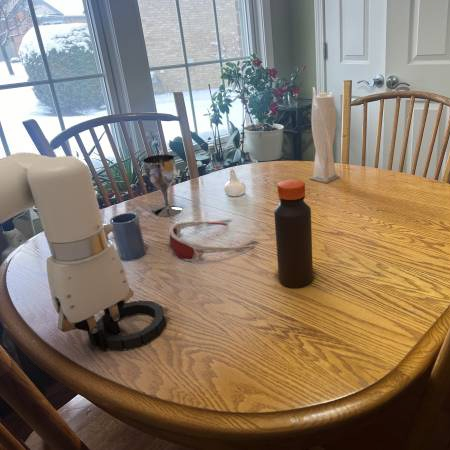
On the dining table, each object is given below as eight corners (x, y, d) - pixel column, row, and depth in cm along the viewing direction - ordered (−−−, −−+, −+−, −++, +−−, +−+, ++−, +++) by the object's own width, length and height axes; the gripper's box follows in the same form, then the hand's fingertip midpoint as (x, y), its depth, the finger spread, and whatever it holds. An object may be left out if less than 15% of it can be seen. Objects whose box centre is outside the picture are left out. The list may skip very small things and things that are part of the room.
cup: (128, 263, 95) (119, 226, 91) (113, 256, 98) (104, 219, 94) (151, 252, 99) (143, 216, 95) (136, 246, 102) (128, 210, 98)
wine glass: (148, 211, 121) (137, 159, 115) (174, 203, 126) (165, 152, 119) (161, 219, 116) (150, 165, 109) (188, 211, 120) (179, 158, 114)
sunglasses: (159, 240, 104) (159, 220, 102) (225, 233, 113) (226, 215, 111) (183, 271, 90) (184, 249, 89) (256, 260, 99) (258, 239, 98)
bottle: (316, 285, 84) (313, 188, 75) (281, 291, 83) (275, 192, 74) (308, 268, 90) (305, 176, 81) (276, 272, 89) (269, 179, 80)
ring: (121, 360, 67) (118, 350, 66) (86, 333, 74) (83, 323, 73) (178, 324, 75) (176, 314, 74) (142, 302, 81) (140, 293, 80)
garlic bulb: (248, 190, 133) (246, 164, 130) (243, 197, 128) (240, 171, 124) (228, 189, 134) (225, 164, 131) (222, 197, 129) (219, 171, 125)
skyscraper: (306, 178, 141) (302, 88, 129) (321, 172, 147) (319, 85, 135) (326, 183, 136) (325, 90, 124) (341, 176, 142) (342, 86, 130)
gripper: (114, 218, 71) (137, 311, 79) (9, 257, 60) (47, 361, 68) (141, 229, 67) (162, 327, 74) (33, 274, 56) (71, 383, 63)
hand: (107, 342), depth 71 cm, fingers closed on ring
